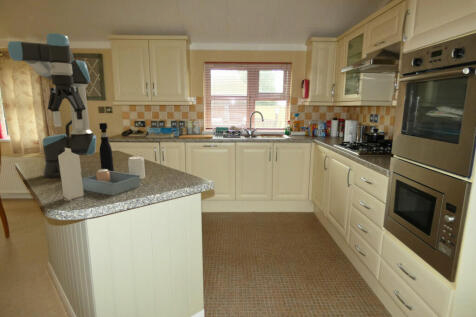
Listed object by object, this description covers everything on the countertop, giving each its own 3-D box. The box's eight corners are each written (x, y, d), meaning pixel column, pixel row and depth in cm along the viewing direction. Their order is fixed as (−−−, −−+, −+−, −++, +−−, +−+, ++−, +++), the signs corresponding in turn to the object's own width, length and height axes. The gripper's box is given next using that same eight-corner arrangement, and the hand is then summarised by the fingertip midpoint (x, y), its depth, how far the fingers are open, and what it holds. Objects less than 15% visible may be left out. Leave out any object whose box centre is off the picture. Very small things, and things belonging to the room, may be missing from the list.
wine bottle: (106, 176, 154) (100, 123, 148) (99, 175, 157) (94, 123, 152) (116, 174, 159) (111, 123, 154) (109, 173, 163) (105, 122, 157)
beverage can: (140, 181, 145) (138, 159, 143) (126, 180, 147) (124, 158, 145) (147, 177, 153) (146, 156, 151) (135, 176, 155) (133, 155, 152)
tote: (79, 190, 130) (78, 178, 129) (109, 181, 144) (108, 170, 143) (113, 197, 120) (111, 183, 119) (140, 187, 135) (139, 175, 134)
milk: (77, 194, 124) (72, 146, 120) (84, 197, 120) (78, 147, 116) (63, 198, 119) (57, 148, 115) (69, 200, 116) (63, 149, 112)
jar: (94, 186, 134) (93, 170, 133) (105, 183, 140) (103, 168, 138) (102, 187, 132) (101, 172, 130) (113, 184, 137) (111, 169, 136)
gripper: (33, 75, 112) (40, 126, 117) (73, 72, 103) (80, 128, 107) (51, 77, 119) (58, 125, 123) (91, 74, 109) (96, 127, 113)
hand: (68, 127), depth 115 cm, fingers open, 13 cm apart
